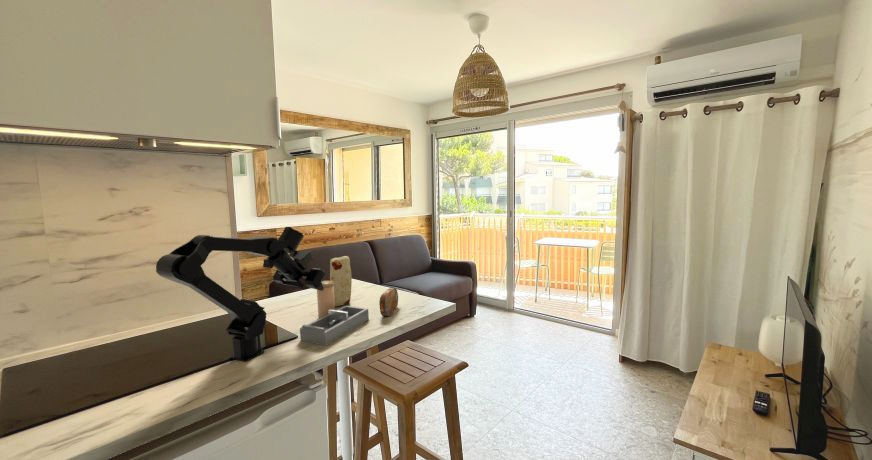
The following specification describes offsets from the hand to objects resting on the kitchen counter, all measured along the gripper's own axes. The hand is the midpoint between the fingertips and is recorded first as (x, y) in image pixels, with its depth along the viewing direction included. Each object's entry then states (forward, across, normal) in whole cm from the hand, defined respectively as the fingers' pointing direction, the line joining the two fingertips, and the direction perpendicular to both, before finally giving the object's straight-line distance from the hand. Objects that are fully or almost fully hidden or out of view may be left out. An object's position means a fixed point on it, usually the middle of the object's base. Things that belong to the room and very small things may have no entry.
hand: (312, 288), depth 127 cm
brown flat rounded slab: (+23, -18, -5) cm, 30 cm away
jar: (+13, 0, +5) cm, 14 cm away
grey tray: (+8, -11, +10) cm, 17 cm away
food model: (+23, +4, -5) cm, 24 cm away
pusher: (+6, -11, +10) cm, 16 cm away
